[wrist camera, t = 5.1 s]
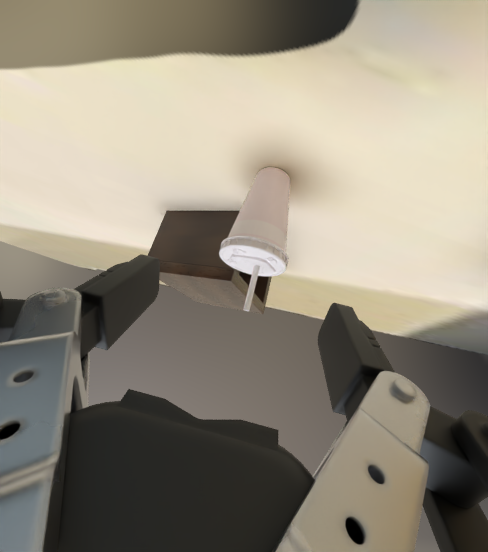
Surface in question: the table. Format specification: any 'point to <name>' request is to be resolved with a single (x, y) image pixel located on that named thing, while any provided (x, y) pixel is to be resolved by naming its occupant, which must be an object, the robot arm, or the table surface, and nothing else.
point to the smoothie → (260, 230)
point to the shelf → (204, 260)
